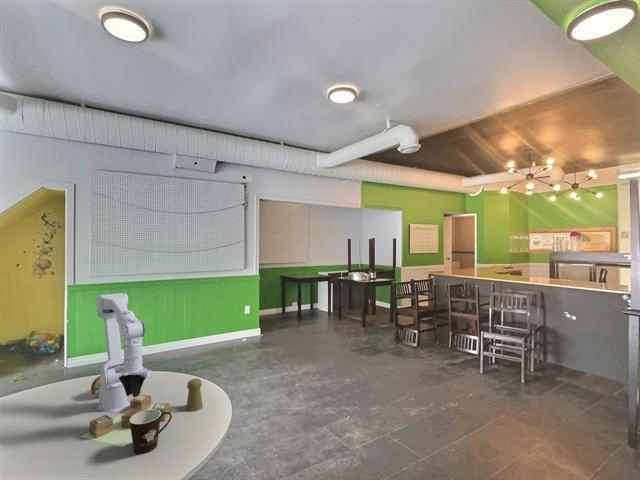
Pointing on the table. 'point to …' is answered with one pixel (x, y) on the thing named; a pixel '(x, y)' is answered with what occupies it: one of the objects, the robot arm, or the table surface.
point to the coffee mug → (146, 430)
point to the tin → (96, 386)
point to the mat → (118, 432)
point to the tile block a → (101, 426)
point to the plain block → (128, 417)
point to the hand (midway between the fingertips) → (133, 395)
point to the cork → (194, 395)
